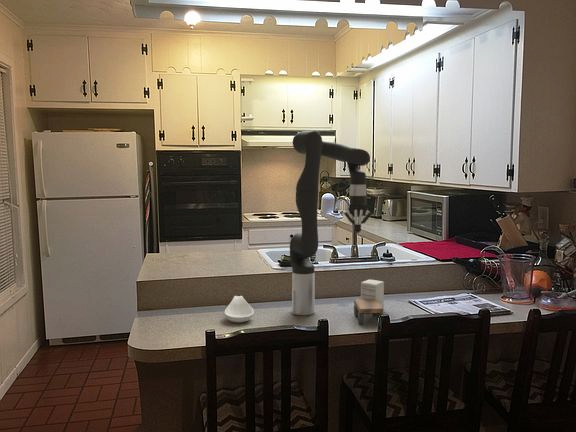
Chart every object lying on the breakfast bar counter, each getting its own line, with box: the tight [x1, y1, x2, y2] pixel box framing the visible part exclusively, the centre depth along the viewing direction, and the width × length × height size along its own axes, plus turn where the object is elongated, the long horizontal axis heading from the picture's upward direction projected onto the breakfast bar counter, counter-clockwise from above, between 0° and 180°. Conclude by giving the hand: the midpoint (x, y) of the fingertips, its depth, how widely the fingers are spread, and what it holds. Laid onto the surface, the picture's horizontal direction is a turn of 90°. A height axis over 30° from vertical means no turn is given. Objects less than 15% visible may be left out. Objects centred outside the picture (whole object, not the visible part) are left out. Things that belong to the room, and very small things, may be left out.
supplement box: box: [360, 279, 385, 315], centre depth 209 cm, size 7×7×13 cm
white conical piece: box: [223, 295, 255, 323], centre depth 203 cm, size 24×12×7 cm, turn 9°
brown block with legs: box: [353, 298, 384, 325], centre depth 196 cm, size 9×15×7 cm, turn 2°
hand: (357, 232), depth 225 cm, fingers closed
